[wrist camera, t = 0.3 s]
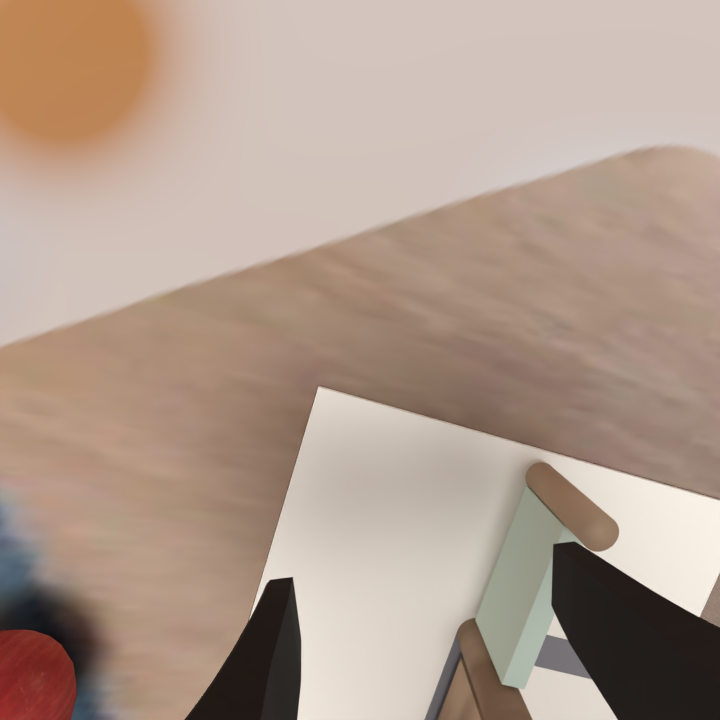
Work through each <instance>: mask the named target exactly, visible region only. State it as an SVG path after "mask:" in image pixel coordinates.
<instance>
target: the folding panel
mask: <svg viewBox="0 0 720 720" xmlns="http://www.w3.org/2000/svg"><path fill="white" fill-rule="evenodd" d="M525 479H526V483H527V485H528V486H526V487H525V489H524V492H523V495H522V497H521V500H520V503H519V505H518V508H517V511H516V513H515V516H514V518H513V521H512V524H511V526H510V529H509V532H508V534H507V537H506V540H505V542H504V545H503V548H502V550H501V553H500V556H499V558H498V561H497V564H496V566H495V569H494V572H493V574H492V577H491V580H490V582H489V585H488V588H487V590H486V593H485V595H484V598H483V601H482V603H481V606H480V609H479V611H478V614H477V617H476V619H475V620H476V623H477V625H478V628H479V630H480V633H481V635H482V637H483V640H484V642H485V645H486V647H487V650H488V652H489V654H490V657H491V659H492V662H493V664H494V667H495V669H496V671H497V674H498V676H499V679H500V681H501V684H503V685H507V686H511V687H516V688H520V689H525V687H526V684H527V682H528V679H529V677H530V674H531V672H532V669H533V667H534V664H535V662H536V659H537V657H538V654H539V652H540V649H541V647H542V645H543V642H544V640H545V637H546V635H547V632H548V630H549V627H550V625H551V622H552V620H553V617H554V615H555V612H554V610H553V608H552V606H551V598H552V565H553V544H557V543H565V542H573V541H575V542H577V543H578V544H580V545H582V546H583V545H584V546H585V547H586V548H588V549H589V550H591V551H595V552H601V551H605V550H607V549H609V548H610V547H612V546H613V545H614V544H615V542H616V541H617V539H618V536H619V527H618V525H617V523H616V521H615V520H614V519H612V518H611V517H610V516H609V515H608V514H607V513H605V512H604V511H603V510H602V509H601V508H600V507H598V506H597V505H596V504H595V503H594V502H593V501H591V500H590V499H589V498H588V497H587V496H586V495H584V494H583V493H582V492H581V491H580V490H579V489H577V488H576V487H575V486H574V485H573V484H572V483H570V482H569V481H568V480H567V479H566V478H565V477H563V476H562V475H561V474H560V473H559V472H558V471H556V470H555V469H554V468H553V467H552V466H551V465H549V464H547V463H544V462H539V463H535V464H533V465H532V466H531V467H530V468H529V469H528V470H527V472H526V476H525Z"/></svg>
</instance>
